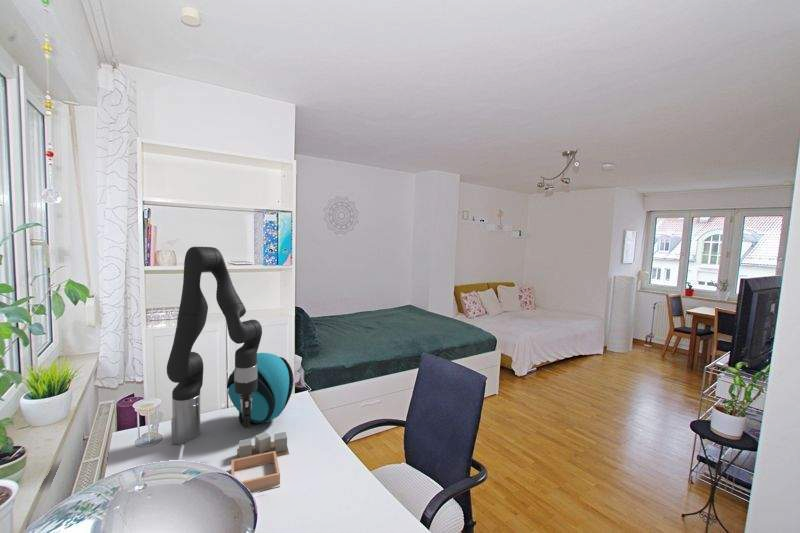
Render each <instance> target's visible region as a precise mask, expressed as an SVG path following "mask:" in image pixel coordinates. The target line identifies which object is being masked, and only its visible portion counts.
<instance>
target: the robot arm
mask: <svg viewBox="0 0 800 533" xmlns="http://www.w3.org/2000/svg"><path fill="white" fill-rule="evenodd" d="M202 273H211V275H212V276H213V277H214V278H215V280H216V293H215V297H216V302H217V305H218V307H219V308H220V311H221V312H222V314H223V316H224V319H225V321H226V327H227V333H228V336H229V338H230V340H231V341H232V342H233V343H235V344H237V345H238V344H243V345H241V346H240V347H239V348H237V349H236V350H235V352H234V369H235V370H234V369H233V370H234V392H235V393H237V394H241V395H240V403H241V412H242V418H243V425H242V428H243V429H250V428H251V425H250V418H251V410H252V392H255V391H256V390H257V388H258V369H257V353H258V350H259V347H260V344H261V339H262V336H263V327H262V324H261V323H260V321H258V320H257V319H248V320H245V321H244V320H243V321H241V320H240V319H241V318H242V317H243V316H245V314H246V312H247V310H246V307H245V305H244V303H243V301H242V299H241V298H240V296H239V294H238V293H237V291H236V289H235V287H234V285H233V281H232V279H231V277H230V272H229V270H228V267H227V264H226V262H225V259H224V257H223V254H222V253H221V250H219V249H218V248H216V247H213V246H191V247H189V248H188V249H187V251H186V253H185V256H184V261H183V277H182V280H183V282H182V289H181V290H182V291H181V298H180V302H179V309H178V313H177V320H176V328H175V333H174V338H173V343H172V346H171V350H170V353H169V358H168V361H167V365H166V375H167V377H168V379H169V380H170V381H171V382H172V383H176V385H175V387H174V388H173V390H172V392H171V402H172V403H171V404H172V405H171V407H172V408H171V410H172V411H171V415H172V417H171V445H186V442H190V441H193V440H195V439H196V438H198V437H199V436H201V390H202V389H201V388H202V387H203V380H204V361H203V358H202V356H201V355H200V354H199V353H198V352H196V351H192V350H193V346H194V344H195V343H196V341H197V339H198V338H199V336H200V335H201V333H202V331H203V329H204V327H205V325H206V322H207V317H208V311H209V310H208V309H209V306H208V304H209V303H208V301H207V299H206V297H205V296H204V293H203V290H202V288H201V277H202Z"/></svg>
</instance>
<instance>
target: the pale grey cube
mask: <svg viewBox="0 0 800 533" xmlns="http://www.w3.org/2000/svg"><path fill="white" fill-rule="evenodd" d="M271 437H272V436H271V435H270V434H269V433H268V432H267V431H265V432H262V433H258V434H256V435H255V437H254V445H255V449H256V450H257V451H258V452H259V453H263V452H265V451H268V450H270V448H271V442H272V440H271Z"/></svg>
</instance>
